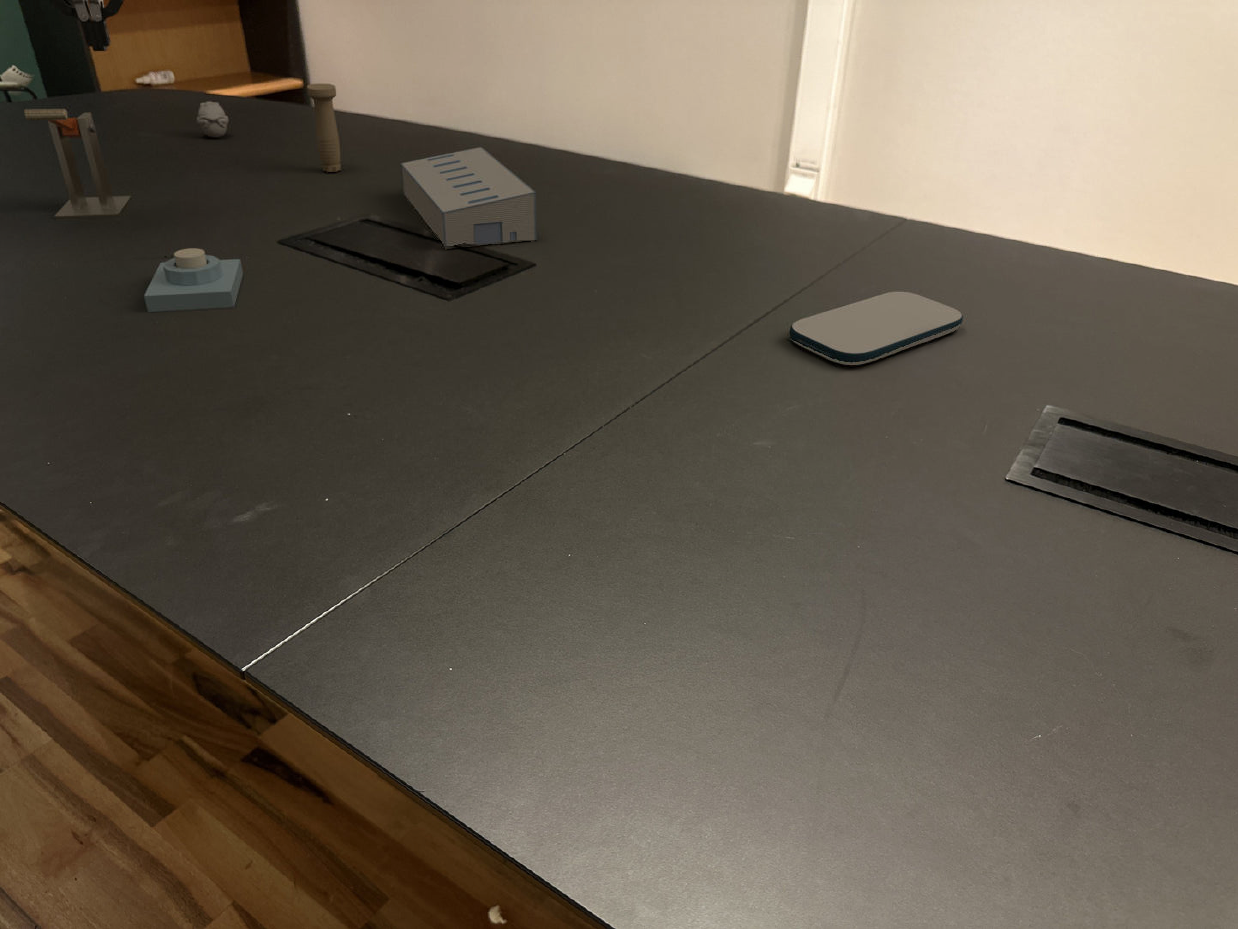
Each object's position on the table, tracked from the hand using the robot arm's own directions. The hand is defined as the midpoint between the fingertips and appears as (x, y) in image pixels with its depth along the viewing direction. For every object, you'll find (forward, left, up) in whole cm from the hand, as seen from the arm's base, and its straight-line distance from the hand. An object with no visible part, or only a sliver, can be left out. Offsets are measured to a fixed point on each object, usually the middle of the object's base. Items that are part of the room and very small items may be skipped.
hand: (100, 50), depth 126 cm
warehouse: (+49, -2, -25) cm, 55 cm away
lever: (-8, +2, -11) cm, 14 cm away
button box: (+12, -30, -25) cm, 41 cm away
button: (+12, -30, -21) cm, 39 cm away
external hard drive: (+95, -58, -25) cm, 114 cm away
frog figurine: (+4, +61, -25) cm, 66 cm away
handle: (+28, +30, -25) cm, 48 cm away
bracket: (-8, +8, -25) cm, 27 cm away
